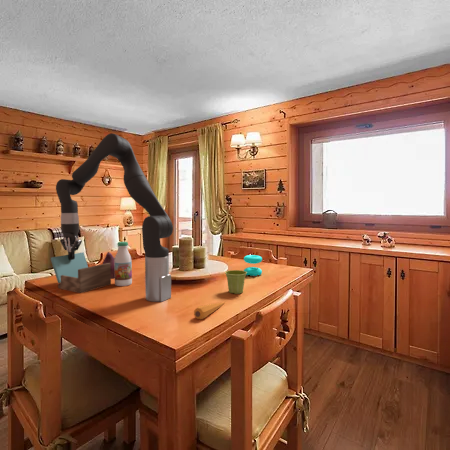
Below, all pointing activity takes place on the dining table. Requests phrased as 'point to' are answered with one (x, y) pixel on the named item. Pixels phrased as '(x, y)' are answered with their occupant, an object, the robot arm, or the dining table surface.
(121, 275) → the milk bottle
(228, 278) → the plant pot
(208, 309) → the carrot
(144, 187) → the robot arm
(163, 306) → the dining table surface
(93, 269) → the wooden box
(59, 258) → the teal card
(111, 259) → the vegetable
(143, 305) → the dining table surface
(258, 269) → the donuts
